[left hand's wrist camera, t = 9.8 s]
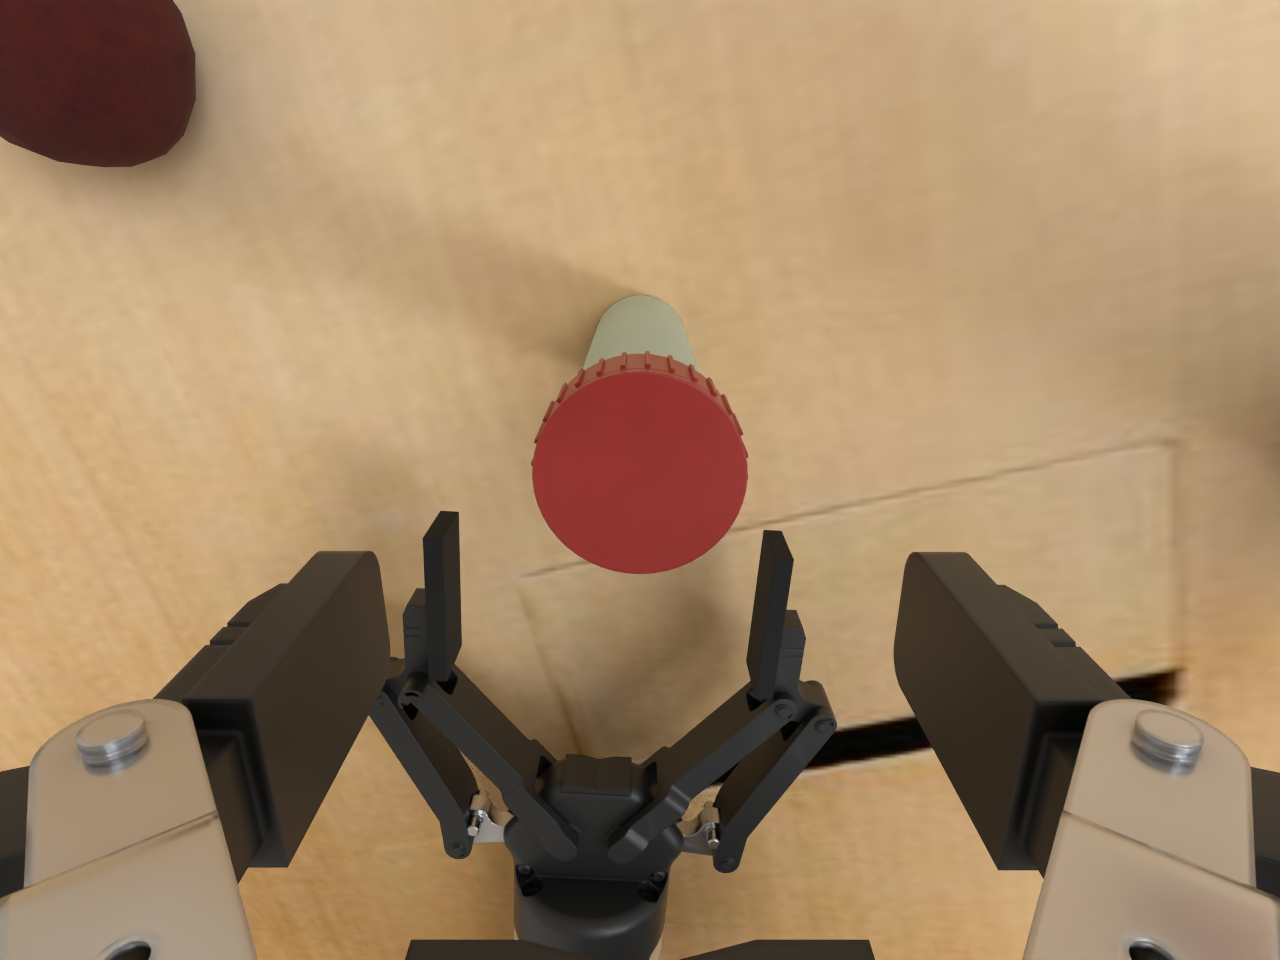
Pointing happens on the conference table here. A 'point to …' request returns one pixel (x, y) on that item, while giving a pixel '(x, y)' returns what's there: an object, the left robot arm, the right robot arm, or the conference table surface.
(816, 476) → the conference table surface
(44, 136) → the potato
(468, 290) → the conference table surface
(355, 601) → the left robot arm
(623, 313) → the pale green bottle
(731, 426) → the lid
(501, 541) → the conference table surface
